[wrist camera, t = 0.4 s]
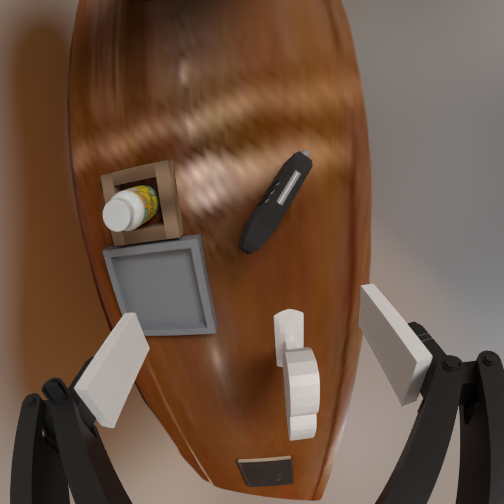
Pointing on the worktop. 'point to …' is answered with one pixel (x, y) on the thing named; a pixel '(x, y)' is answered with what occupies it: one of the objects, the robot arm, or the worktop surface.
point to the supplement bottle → (130, 208)
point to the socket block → (167, 200)
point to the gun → (275, 202)
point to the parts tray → (164, 285)
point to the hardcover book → (267, 471)
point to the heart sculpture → (297, 374)
